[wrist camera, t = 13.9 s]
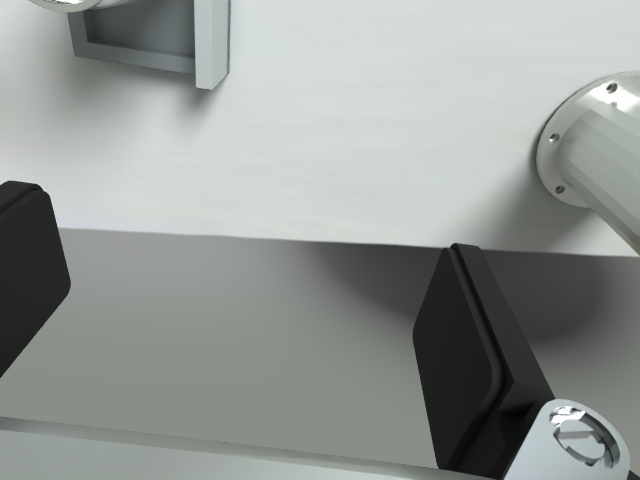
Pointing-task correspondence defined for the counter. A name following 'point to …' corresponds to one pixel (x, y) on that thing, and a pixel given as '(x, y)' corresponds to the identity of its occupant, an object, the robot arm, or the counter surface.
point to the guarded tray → (159, 36)
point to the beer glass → (82, 4)
